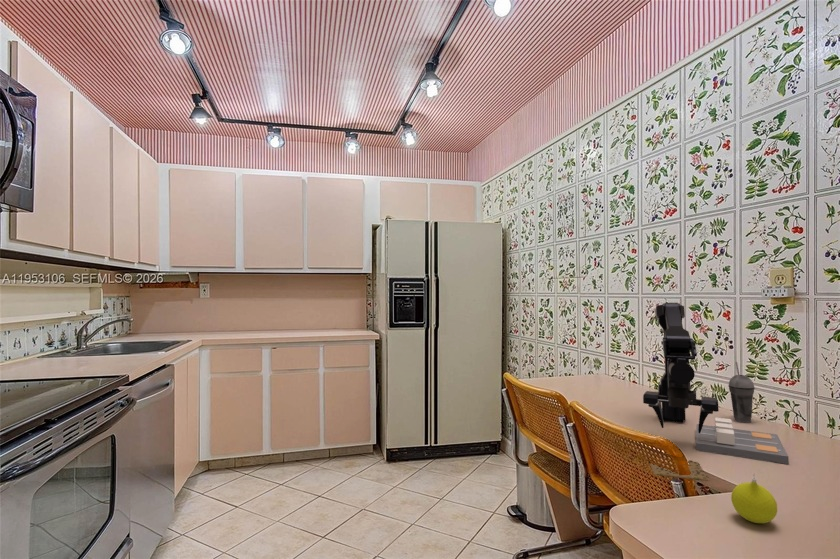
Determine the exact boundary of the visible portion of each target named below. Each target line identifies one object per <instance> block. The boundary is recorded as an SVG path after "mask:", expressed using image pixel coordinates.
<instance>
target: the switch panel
mask: <svg viewBox="0 0 840 559" xmlns="http://www.w3.org/2000/svg"><path fill="white" fill-rule="evenodd" d="M698 426H699V423H696V425H695V428H696V429H695V450H696V451H699V450H700V451H701V452H705V451H706V452H705V453H712V454H720V455H725V456H733V457H739V458H745V459H752V460H758V461H765V462H770V463H771V462H772V463H778V464H782V465H783V464H784V465H790V461H789V460H790V458H789V455H788V453H787V451H786V449H785V447H784V445H783V443H782V441H781V439H780V437H779V435H778V434H777V433H768V432H761V431H754V430H746V429H739V428H738V429H736V428H733V430H734V439H735V445H729V444H722V443H717V437H716V425H715V426H713V425H709V424H708V425H707V424H703V427H702V429H701V432H700V433H699V432H698Z"/></svg>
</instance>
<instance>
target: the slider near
mask: <svg viewBox="0 0 840 559" xmlns="http://www.w3.org/2000/svg"><path fill="white" fill-rule="evenodd" d="M716 435H717V443H722V444H729V445H735V439H734V430H728V429H720V428H716Z"/></svg>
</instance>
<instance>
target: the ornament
mask: <svg viewBox="0 0 840 559" xmlns="http://www.w3.org/2000/svg"><path fill="white" fill-rule="evenodd" d="M753 476H755V473H754V474H753ZM730 498H731V504H732V506H733V508H734V509H735V511H736V512H737V514H738V515H739V516H741V517H742V518H744V519H745V521H746V520H747V521H749V522H751V523H754V524H768V523H769V522H771V521H773V520H774V519H775V518H776V516H777V513H778V504H777V501H776V498H775V497H774V496H773V494H772V492H770V491H769V490H768V489H767V488H765V487H764V486H762V485H760V484H758V483H757V478H756V477H752V478H751V482H741V483H739V484H737V485H736V486H735V487H734V488H733V490H732V492H731V497H730Z"/></svg>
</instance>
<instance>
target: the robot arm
mask: <svg viewBox="0 0 840 559" xmlns="http://www.w3.org/2000/svg"><path fill="white" fill-rule="evenodd" d="M685 313H686V312H685V305H682V304H681V303H679V302H664V303H662V304H659V305H656V306H655V319H657V323H658V324H659V326H660V327H661V329H662V330H663V331H662V332H663V337H662V350H663V351H662V352H663V358H664V372H663V374H662V376H661V378H660V379H659V382H660V383H659V384H658V385H657V391H651V390H649V391H648V390H646V391H645V392H644V394H643V396H642V399H643V400H642V402H643V404H646V405H648V407H649V408H652V409H653V411H654V412H655V414H656V416H657V420H658V422H659V424H660V427H661V429H664V428H665V426H664V424H665V422H671V423H678V424H679V423H680V424H684V423H685V421H686V417H687V416H686V415H687V414H686V409H689V406H695V407H696V406H698V407H700V411H699V416H698V417H699V419H698V424H699V426H698V432H699V433H700V432H701V429H702V427H703V425H705V424H704V423H705V422H706V418H707V417H708V416H709V415H710V414H711V415H713V414H714V412H716V413H717V412H719V399H717V397H713V396H701V399H699V398H697V391H696V390H692V389H691V388H692V387H691V386H692V385H691V382H692V381H693V380H694V378H695V371H694V370H695V369H694V368H693V367H692V365H691V362H690V360H692V361H693V360H694V361H695V360H696V357H697V356H698V353H697V346H696V342H695V341H694V339H693V338H691V335H690V332H689V331H688V330H687V329H685V328H684V326H683V319H684V318H685V317H686V314H685Z"/></svg>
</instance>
